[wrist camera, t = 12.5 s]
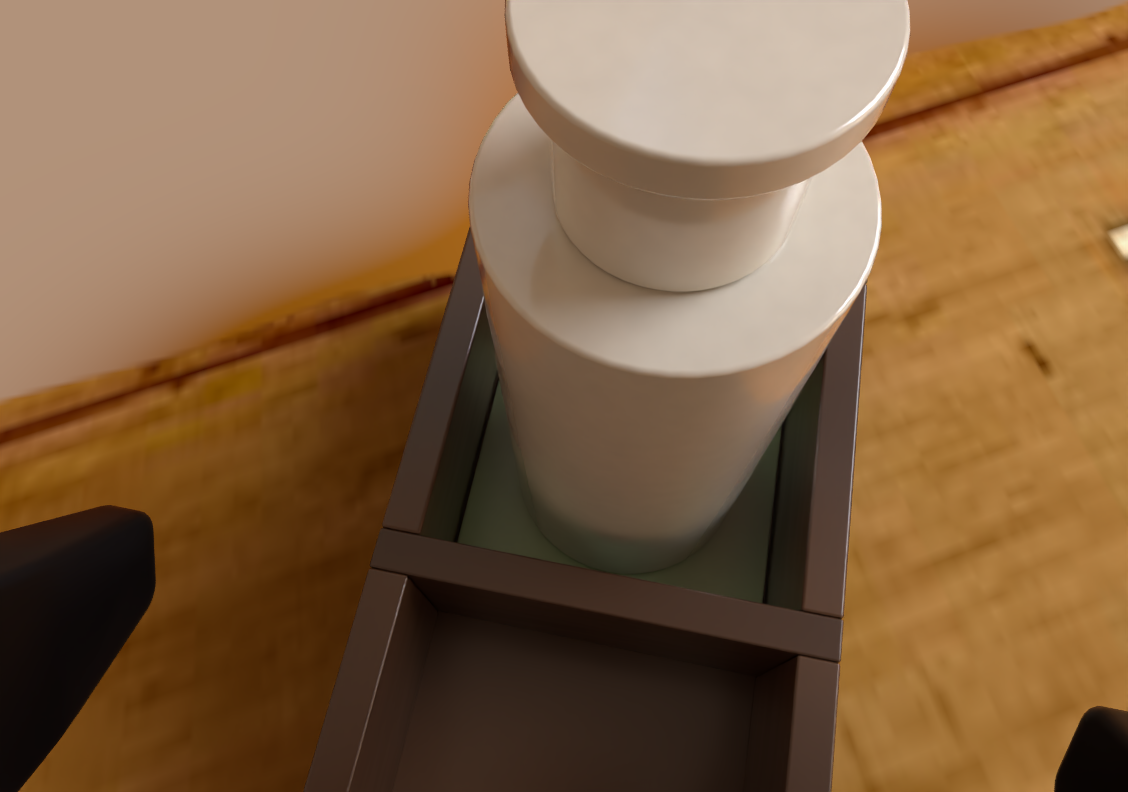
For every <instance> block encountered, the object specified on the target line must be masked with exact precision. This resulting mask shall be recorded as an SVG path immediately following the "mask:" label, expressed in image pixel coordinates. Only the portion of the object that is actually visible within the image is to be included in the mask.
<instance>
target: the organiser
mask: <svg viewBox="0 0 1128 792" xmlns="http://www.w3.org/2000/svg"><path fill="white" fill-rule="evenodd" d="M867 279H868V278H867ZM866 283H867V280H866V282H865V284H864V286H863V288H862V289H861V291H860V293H859V295H858V297H857V298H856V300H855V302H854V303H853V305H852V307H851V308H850V310H849V312H848V313H847V315H846V317H845V318H844V320H843V322H842V324H841V325H840V327H839V329H838V330H837V332H836V334H835V335H834V337H833V339H832V340H831V342H830V344H829V345H828V347H827V349H826V350H825V352H824V354H823V356H822V357H821V359H820V361H819V362H818V364H817V366H816V367H815V369H814V371H813V372H812V374H811V376H810V377H809V379H808V381H807V382H806V384H805V386H804V388H803V389H802V391H801V393H800V394H799V396H798V398H797V399H796V401H795V403H794V404H793V406H792V408H791V409H790V411H789V413H788V414H787V416H786V418H785V420H784V421H783V423H782V425H781V426H780V428H779V430H778V431H777V433H776V435H775V436H774V438H773V440H772V441H771V443H770V445H769V446H768V448H767V450H766V452H765V453H764V455H763V457H762V458H761V460H760V462H759V463H758V465H757V467H756V468H755V470H754V472H753V473H752V475H751V477H750V479H749V480H748V482H747V484H746V485H745V487H744V489H743V490H742V492H741V494H740V495H739V497H738V499H737V500H736V502H735V504H734V505H733V507H732V509H731V511H730V512H729V514H728V516H727V517H726V519H725V521H724V522H723V524H722V525H721V527H720V528H719V530H718V531H717V532H716V534H715V535H714V536H713V537H712V538H711V539H710V541H709V542H708V543H707V544H706V545H705V546H704V547H702V548H701V549H700V550H699V551H697V552H696V553H695V554H693V555H692V556H690V557H689V558H687V559H685V560H683V561H682V562H680V563H678V564H675V565H673V566H670V567H668V568H665V569H661V570H657V571H654V572H647V573H639V574H620V573H613V572H606V571H603V570H599V569H595V568H592V567H589V566H587V565H585V564H582V563H580V562H578V561H576V560H574V559H573V558H571V557H569V556H567V555H566V554H564V553H563V552H562V551H560V550H559V549H558V548H556V547H555V546H554V545H553V544H552V543H551V542H550V541H549V540H548V539H547V538H546V537H545V536H544V535H543V534H542V533H541V531H540V530H539V529H538V527H537V526H536V525H535V523H534V521H533V520H532V518H531V516H530V514H529V513H528V511H527V508H526V506H525V503H524V501H523V498H522V494H521V490H520V486H519V482H518V476H517V471H516V466H515V461H514V455H513V450H512V445H511V439H510V434H509V429H508V423H507V418H506V413H505V408H504V402H503V397H502V392H501V386H500V381H499V376H498V371H497V365H496V360H495V355H494V349H493V344H492V339H491V333H490V328H489V323H488V318H487V312H486V307H485V302H484V296H483V291H482V286H481V281H480V275H479V270H478V265H477V259H476V254H475V249H474V243H473V238H472V233H471V228H469V231H468V235H467V238H466V241H465V245H464V248H463V252H462V255H461V258H460V262H459V265H458V269H457V272H456V275H455V279H454V282H453V285H452V289H451V292H450V296H449V299H448V302H447V306H446V309H445V313H444V316H443V319H442V323H441V326H440V330H439V333H438V336H437V340H436V343H435V347H434V350H433V353H432V357H431V360H430V364H429V367H428V370H427V374H426V377H425V380H424V384H423V387H422V391H421V394H420V397H419V401H418V404H417V408H416V411H415V414H414V418H413V421H412V425H411V428H410V431H409V435H408V438H407V442H406V445H405V448H404V452H403V455H402V459H401V462H400V465H399V469H398V472H397V476H396V479H395V482H394V486H393V489H392V493H391V496H390V499H389V503H388V506H387V509H386V513H385V516H384V520H383V523H382V527H383V528H381V529H380V532H379V536H378V539H377V542H376V546H375V549H374V552H373V556H372V559H371V563H370V567H371V568H370V569H369V570H368V573H367V577H366V580H365V584H364V587H363V590H362V594H361V597H360V601H359V604H358V607H357V611H356V614H355V618H354V621H353V624H352V628H351V631H350V635H349V638H348V641H347V645H346V648H345V652H344V655H343V658H342V662H341V665H340V668H339V672H338V675H337V679H336V682H335V685H334V689H333V692H332V696H331V699H330V702H329V706H328V709H327V713H326V716H325V719H324V723H323V726H322V730H321V733H320V736H319V740H318V743H317V747H316V750H315V753H314V757H313V760H312V764H311V767H310V770H309V774H308V777H307V780H306V784H305V787H304V791H303V792H831V788H832V774H833V760H834V746H835V732H836V718H837V704H838V690H839V676H840V665H839V664H838V663H839V662H840V661H841V650H842V636H843V620H842V618H843V616H844V604H845V590H846V576H847V562H848V548H849V534H850V520H851V506H852V491H853V477H854V463H855V449H856V435H857V421H858V407H859V393H860V379H861V365H862V351H863V337H864V323H865V309H866V295H867V285H866Z"/></svg>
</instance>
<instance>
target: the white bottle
mask: <svg viewBox="0 0 1128 792" xmlns="http://www.w3.org/2000/svg"><path fill="white" fill-rule="evenodd" d="M505 25H506V36H507V47H508V56H509V64H510V70H511V73H512V77H513V80H514V83H515V86H516V89H517V91H518V93H517V94H516V95H515V96H514V97H513V98H512V99H511V100H509V102H508V103H507V104H506V105H505V106H504V108H503V109H502V110H501V111H500V113H499V114H498V115H497V117H496V118H495V119H494V121H493V123H492V124H491V126H490V128H489V130H488V131H487V133H486V135H485V136H484V138H483V140H482V143H481V145H480V148H479V150H478V153H477V155H476V158H475V161H474V164H473V169H472V174H471V178H470V183H469V199H468V208H469V218H470V228H471V233H472V238H473V243H474V249H475V254H476V259H477V265H478V270H479V275H480V281H481V286H482V291H483V296H484V302H485V307H486V312H487V318H488V323H489V328H490V333H491V339H492V344H493V349H494V355H495V360H496V365H497V371H498V376H499V381H500V386H501V392H502V397H503V402H504V408H505V413H506V418H507V423H508V429H509V434H510V439H511V445H512V450H513V455H514V461H515V466H516V471H517V476H518V482H519V486H520V490H521V494H522V498H523V501H524V503H525V506H526V508H527V511H528V513H529V514H530V516H531V518H532V520H533V521H534V523H535V525H536V526H537V527H538V529H539V530H540V531H541V533H542V534H543V535H544V536H545V537H546V538H547V539H548V540H549V541H550V542H551V543H552V544H553V545H554V546H555V547H556V548H558V549H559V550H560V551H562V552H563V553H564V554H566V555H567V556H569V557H571V558H573V559H574V560H576V561H578V562H580V563H582V564H585V565H587V566H589V567H592V568H595V569H599V570H603V571H606V572H613V573H620V574H639V573H647V572H654V571H657V570H661V569H665V568H668V567H670V566H673V565H675V564H678V563H680V562H682V561H683V560H685V559H687V558H689V557H690V556H692V555H693V554H695V553H696V552H697V551H699V550H700V549H701V548H702V547H704V546H705V545H706V544H707V543H708V542H709V541H710V539H711V538H712V537H713V536H714V535H715V534H716V532H717V531H718V530H719V528H720V527H721V525H722V524H723V522H724V521H725V519H726V517H727V516H728V514H729V512H730V511H731V509H732V507H733V505H734V504H735V502H736V500H737V499H738V497H739V495H740V494H741V492H742V490H743V489H744V487H745V485H746V484H747V482H748V480H749V479H750V477H751V475H752V473H753V472H754V470H755V468H756V467H757V465H758V463H759V462H760V460H761V458H762V457H763V455H764V453H765V452H766V450H767V448H768V446H769V445H770V443H771V441H772V440H773V438H774V436H775V435H776V433H777V431H778V430H779V428H780V426H781V425H782V423H783V421H784V420H785V418H786V416H787V414H788V413H789V411H790V409H791V408H792V406H793V404H794V403H795V401H796V399H797V398H798V396H799V394H800V393H801V391H802V389H803V388H804V386H805V384H806V382H807V381H808V379H809V377H810V376H811V374H812V372H813V371H814V369H815V367H816V366H817V364H818V362H819V361H820V359H821V357H822V356H823V354H824V352H825V350H826V349H827V347H828V345H829V344H830V342H831V340H832V339H833V337H834V335H835V334H836V332H837V330H838V329H839V327H840V325H841V324H842V322H843V320H844V318H845V317H846V315H847V313H848V312H849V310H850V308H851V307H852V305H853V303H854V302H855V300H856V298H857V297H858V295H859V293H860V291H861V289H862V288H863V286H864V284H865V282H866V280H867V278H868V276H869V274H870V272H871V270H872V267H873V264H874V261H875V258H876V254H877V251H878V247H879V241H880V235H881V228H882V204H881V198H880V192H879V186H878V180H877V177H876V174H875V171H874V168H873V165H872V162H871V159H870V156H869V154H868V153H867V151H866V149H865V147H864V145H863V143H862V140H863V139H864V138H865V136H866V135H867V134H868V133H869V131H870V130H871V129H872V128H873V126H874V125H875V123H876V122H877V120H878V118H879V116H880V115H881V113H882V111H883V109H884V107H885V105H886V103H887V101H888V99H889V97H890V95H891V93H892V90H893V88H894V86H895V84H896V82H897V80H898V77H899V75H900V73H901V70H902V67H903V65H904V62H905V59H906V56H907V52H908V46H909V39H910V13H909V6H908V1H907V0H505Z"/></svg>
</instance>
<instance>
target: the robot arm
mask: <svg viewBox="0 0 1128 792" xmlns="http://www.w3.org/2000/svg"><path fill="white" fill-rule="evenodd" d="M155 584H156V576H155V554H154V532H153V524H152V521H151V519H150V517H149V516H148V515H147V514H146V513H144V512H141V511H137V510H132V509H127V508H122V507H117V506H112V505H105V506H100V507H96V508H93V509H89V510H85V511H81V512H77V513H74V514H70V515H66V516H62V517H58V518H54V519H51V520H47V521H43V522H39V523H35V524H32V525H28V526H24V527H20V528H16V529H12V530H9V531H5V532H1V533H0V792H18V791H19V790H20V788H21V787H22V786H23V785H24V784H25V782H26V781H27V780H28V779H29V777H30V776H31V775H32V774H33V773H34V771H35V770H36V769H37V768H38V766H39V765H40V764H41V763H42V762H43V760H44V759H45V758H46V756H47V755H48V754H49V753H50V751H51V750H52V749H53V747H54V746H55V745H56V744H57V742H58V741H59V740H60V738H61V737H62V736H63V734H64V733H65V732H66V730H67V729H68V727H69V726H70V724H71V723H72V722H73V720H74V719H75V717H76V716H77V715H78V713H79V712H80V710H81V709H82V707H83V706H84V704H85V703H86V701H87V700H88V698H89V697H90V695H91V694H92V692H93V690H94V689H95V687H96V686H97V684H98V683H99V681H100V680H101V678H102V677H103V675H104V674H105V672H106V671H107V669H108V668H109V666H110V665H111V663H112V662H113V660H114V659H115V657H116V656H117V654H118V653H119V651H120V650H121V648H122V647H123V645H124V644H125V642H126V641H127V639H128V638H129V636H130V635H131V633H132V632H133V630H134V629H135V627H136V626H137V624H138V623H139V621H140V620H141V618H142V617H143V615H144V614H145V612H146V611H147V609H148V607H149V605H150V603H151V601H152V598H153V595H154V591H155ZM1054 792H1128V711H1123V710H1118V709H1113V708H1107V707H1102V706H1096V707H1093V708H1090V709H1089V710H1088V711H1087V712H1086V713H1084V715H1083V717H1082V718H1081V720H1080V722H1079V725H1078V727H1077V729H1076V731H1075V734H1074V736H1073V738H1072V740H1071V742H1070V745H1069V747H1068V749H1067V751H1066V754H1065V756H1064V758H1063V760H1062V763H1061V765H1060V767H1059V769H1058V772H1057V775H1056V779H1055V788H1054Z"/></svg>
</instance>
